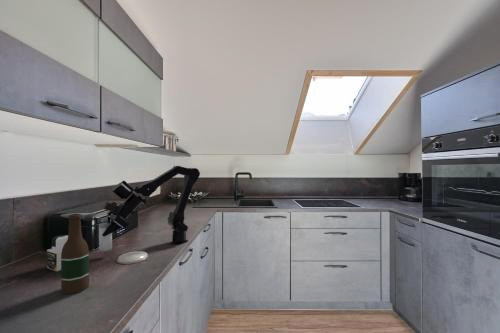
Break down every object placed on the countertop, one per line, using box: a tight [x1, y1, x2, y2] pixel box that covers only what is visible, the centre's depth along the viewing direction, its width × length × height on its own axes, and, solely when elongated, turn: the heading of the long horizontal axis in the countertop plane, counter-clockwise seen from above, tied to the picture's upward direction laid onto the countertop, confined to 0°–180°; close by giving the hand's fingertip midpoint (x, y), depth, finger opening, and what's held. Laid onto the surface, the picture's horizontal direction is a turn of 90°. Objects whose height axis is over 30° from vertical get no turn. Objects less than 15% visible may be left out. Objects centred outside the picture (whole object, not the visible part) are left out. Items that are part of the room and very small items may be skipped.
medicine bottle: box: [46, 234, 68, 272], centre depth 98 cm, size 7×7×12 cm
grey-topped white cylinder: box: [98, 222, 113, 252], centre depth 108 cm, size 5×5×11 cm
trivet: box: [116, 250, 149, 265], centre depth 106 cm, size 12×12×1 cm
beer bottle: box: [60, 213, 90, 296], centre depth 80 cm, size 8×8×24 cm
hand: (101, 234), depth 107 cm, fingers closed on grey-topped white cylinder, 5 cm apart
